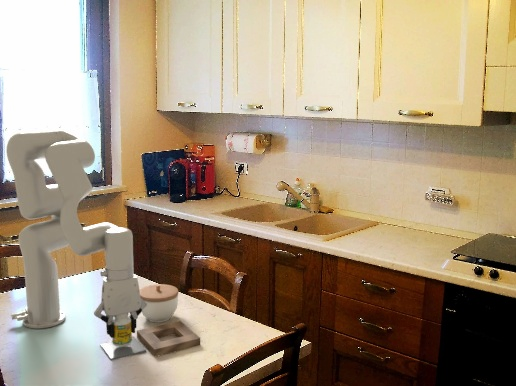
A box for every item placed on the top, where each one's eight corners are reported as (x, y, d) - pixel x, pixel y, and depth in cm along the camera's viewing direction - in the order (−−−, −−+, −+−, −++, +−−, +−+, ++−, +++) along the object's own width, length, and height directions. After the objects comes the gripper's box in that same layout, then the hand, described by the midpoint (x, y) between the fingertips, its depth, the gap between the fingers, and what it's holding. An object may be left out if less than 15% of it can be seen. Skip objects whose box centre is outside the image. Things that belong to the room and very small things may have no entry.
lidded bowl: (159, 307, 191) (158, 275, 189) (186, 316, 184) (186, 283, 182) (130, 319, 181) (129, 286, 179) (158, 329, 174) (158, 295, 171)
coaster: (111, 360, 154) (110, 358, 154) (100, 346, 162) (100, 344, 162) (146, 351, 159) (145, 349, 159) (133, 338, 168) (133, 336, 168)
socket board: (154, 356, 157) (154, 349, 156) (137, 337, 168) (136, 330, 168) (200, 345, 164) (200, 338, 163) (180, 327, 175) (180, 320, 175)
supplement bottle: (127, 337, 164) (126, 305, 162) (134, 344, 160) (133, 312, 158) (109, 341, 161) (108, 309, 159) (116, 349, 157) (115, 316, 155)
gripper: (92, 282, 149) (95, 345, 153) (154, 271, 158) (155, 332, 161) (84, 273, 155) (87, 335, 159) (144, 263, 164) (145, 322, 168)
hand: (121, 332), depth 160 cm, fingers closed on supplement bottle, 5 cm apart
